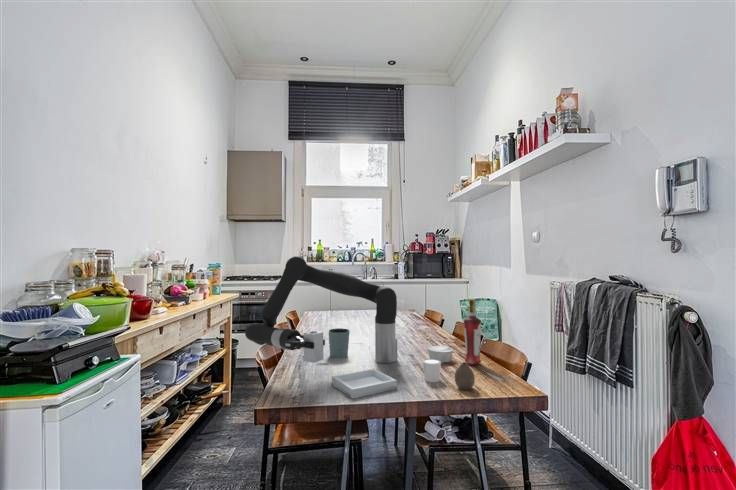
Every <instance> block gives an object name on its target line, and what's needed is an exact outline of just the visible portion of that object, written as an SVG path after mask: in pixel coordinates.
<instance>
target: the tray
mask: <svg viewBox="0 0 736 490" xmlns="http://www.w3.org/2000/svg"><path fill="white" fill-rule="evenodd" d="M331 385H332V386H333V387H335V388H336V389H338V390H339V391H341V392H342V393H343V394H345V395H347V397H350V399H356V398H357V399H358V398H361V397H365V396H369V395H374V394H379V393H383V392H388V391H392V390H397V389H398V379H395V378H393V377H391V376H390V375H387V374H385V373H383V372H381V371H379V370H377V369H375V368H370V369H364V370H359V371H353V372H347V373H342V374H341V373H340V374H337V375H333V376H331Z"/></svg>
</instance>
